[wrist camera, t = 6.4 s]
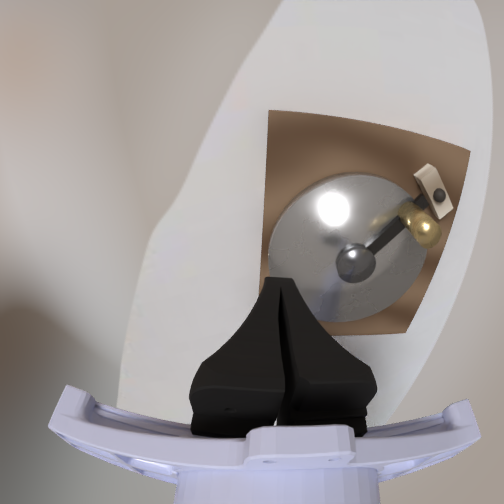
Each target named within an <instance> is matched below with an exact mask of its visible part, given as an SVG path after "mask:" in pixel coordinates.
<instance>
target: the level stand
mask: <svg viewBox="0 0 504 504" xmlns="http://www.w3.org/2000/svg"><path fill="white" fill-rule="evenodd" d="M469 157H470V151H469V150H467V149H464V148H462V147H459V146H457V145H454V144H451V143H448V142H444V141H441V140H438V139H435V138H432V137H428V136H425V135H421V134H418V133H414V132H410V131H406V130H402V129H398V128H394V127H389V126H385V125H380V124H375V123H370V122H365V121H360V120H354V119H348V118H342V117H335V116H328V115H320V114H312V113H302V112H291V111H278V110H269V116H268V137H267V158H266V178H265V197H264V215H263V233H262V250H261V267H260V284H259V295H260V293H261V290H262V288H263V284H264V278H265V277H267V276H268V277H270V273H269V266H268V250H269V241H270V236H271V233H272V230H273V227H274V225H275V222H276V220H277V218H278V216H279V215H280V213H281V212H282V210H283V209H284V207H285V206H286V205H287V204H288V203H289V202H290V201H291V199H292V198H294V197H295V196H296V195H297V194H298V193H299V192H300V191H302V190H303V189H305V188H306V187H308V186H309V185H311V184H312V183H314V182H316V181H318V180H320V179H322V178H325V177H328V176H331V175H334V174H339V173H344V172H367V173H372V174H376V175H380V176H382V177H385V178H387V179H389V180H391V181H392V182H394V183H396V184H397V185H398V186H400V187H401V188H402V189H403V190H405V191H406V192H407V193H408V194H409V195H410V196H411V197H412V198H413V199H415V198H416V197H417V196H418V195H419V194H420V193H421V194H423V195H424V197H425V198H426V200H427V201H428V203H429V204H430V205H429V206H428V207H427V208H426V209H425V210H423V211H424V212H425V213H427V214H428V215H429V216H430V217H431V218H432V219H433V220H434V221H435V222H436V223H437V224H438V225H439V226H440V227H441V230H442V235H441V238H440V240H439V242H438V243H437V244H436V245H435V246H434V247H432V248H429V249H427V254H426V258H425V261H424V264H423V267H422V269H421V271H420V273H419V275H418V276H417V278H416V280H415V281H414V283H413V284H412V285H411V287H410V288H409V289H408V290H407V291H406V292H405V293H404V294H403V295H402V296H401V297H400V298H399V299H398V300H397V301H396V302H394V303H393V304H391V305H390V306H388V307H387V308H385V309H383V310H382V311H380V312H378V313H376V314H373V315H371V316H368V317H365V318H362V319H358V320H354V321H347V322H326V321H320V320H318V322H319V323H320V324H321V325H322V327H323V328H324V329H325V330H326V331H327V332H328V333H329V335H330V336H339V335H378V334H397V333H406V331H407V329H408V327H409V325H410V323H411V322H412V320H413V318H414V316H415V314H416V312H417V310H418V308H419V306H420V304H421V302H422V300H423V297H424V295H425V293H426V291H427V289H428V286H429V284H430V282H431V280H432V277H433V275H434V273H435V270H436V268H437V265H438V263H439V260H440V258H441V255H442V252H443V250H444V247H445V244H446V242H447V239H448V236H449V233H450V230H451V227H452V224H453V221H454V217H455V214H456V211H457V207H458V204H459V200H460V196H461V193H462V189H463V185H464V180H465V176H466V172H467V167H468V162H469Z"/></svg>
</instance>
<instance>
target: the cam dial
mask: <svg viewBox="0 0 504 504" xmlns="http://www.w3.org/2000/svg"><path fill="white" fill-rule="evenodd" d="M429 205H430V204H429V203H428V201H427V200H426V198H425V197H424V195H423V194H421V193H420V194H419V195H418V196H417V197H416V198H415V199H413V198H412V197H411V196H410V195H409V194H408V193H407V192H406V191H405V190H403V189H402V188H401V187H400V186H398V185H397V184H396V183H394V182H392V181H391V180H389V179H387V178H385V177H382V176H380V175H376V174H372V173H367V172H344V173H339V174H334V175H331V176H328V177H325V178H322V179H320V180H318V181H316V182H314V183H312V184H311V185H309V186H308V187H306V188H305V189H303V190H302V191H300V192H299V193H298V194H297V195H296V196H295V197H294V198H292V199H291V201H290V202H289V203H288V204H287V205H286V206H285V207H284V209H283V210H282V212H281V213H280V215H279V216H278V218H277V220H276V222H275V225H274V227H273V230H272V233H271V236H270V241H269V250H268V266H269V273H270V277H283V278H292V279H293V280H294V282H295V284H296V286H297V288H298V290H299V292H300V294H301V296H302V297H303V299H304V301H305V303H306V304H307V306H308V307H309V309H310V310H311V312H312V313H313V315H314V316H315V318H316V319H317V320H320V321H326V322H347V321H354V320H358V319H362V318H365V317H368V316H371V315H373V314H376V313H378V312H380V311H382V310H383V309H385V308H387V307H388V306H390V305H391V304H393V303H394V302H396V301H397V300H398V299H399V298H400V297H401V296H402V295H403V294H404V293H405V292H406V291H407V290H408V289H409V288H410V287H411V285H412V284H413V283H414V281H415V280H416V278H417V276H418V275H419V273H420V271H421V269H422V267H423V264H424V261H425V258H426V254H427V249H429V248H432V247H434V246H435V245H436V244H437V243H438V242H439V240H440V238H441V235H442V230H441V227H440V226H439V225H438V224H437V223H436V222H435V221H434V220H433V219H432V218H431V217H430V216H429V215H428V214H427V213H425V212H424V211H423V210H425V209H426V208H427V207H428V206H429Z"/></svg>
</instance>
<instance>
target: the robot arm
mask: <svg viewBox="0 0 504 504" xmlns="http://www.w3.org/2000/svg"><path fill="white" fill-rule="evenodd" d="M376 392H377V385H376V381H375V378H374V375H373V373H372V370H371V368H370V367H369V366H368V365H366V364H365V363H363V362H362V361H360V360H359V359H357V358H356V357H354V356H353V355H352V354H350V353H349V352H348V351H347V350H345V349H344V348H343V347H342V346H341V345H340V344H339V343H338V342H337V341H335V340H334V339H333V338H332V337H331V336H330V335H329V333H328V332H327V331H326V330H325V329H324V328H323V327H322V325H321V324H320V323H319V322H318V320H317V319H316V318H315V316H314V315H313V313H312V312H311V310H310V309H309V307H308V306H307V304H306V303H305V301H304V299H303V297H302V296H301V294H300V292H299V290H298V288H297V286H296V284H295V282H294V280H293V279H292V278H283V277H268V276H267V277H265V278H264V284H263V288H262V290H261V293H260V295H259V297H258V299H257V301H256V303H255V305H254V307H253V309H252V310H251V312H250V314H249V315H248V317H247V318H246V320H245V321H244V322H243V324H242V325H241V326H240V328H239V329H238V330H237V331H236V332H235V334H234V335H233V336H232V337H231V338H230V339H229V340H228V341H227V342H226V343H225V344H224V345H223V346H222V347H221V348H220V349H219V350H218V351H216V352H215V353H214V354H213V355H211V356H210V357H209V358H207V359H206V360H205V361H203V362H202V364H201V365H200V367H199V369H198V371H197V373H196V375H195V377H194V379H193V382H192V385H191V389H190V393H189V400H190V403H191V406H192V410H193V417H192V422H191V425H188V424H182V423H176V422H171V421H166V420H161V419H157V418H152V417H148V416H144V415H140V414H136V413H132V412H128V411H125V410H121V409H118V408H114V407H111V406H108V405H105V404H102V403H99V402H96V401H95V399H94V398H93V396H92V395H91V394H90V393H88V392H86V391H84V390H81V389H78V388H76V387H73V386H71V385H66V387H65V389H64V391H63V393H62V395H61V397H60V399H59V402H58V404H57V406H56V408H55V410H54V413H53V415H52V417H51V419H50V422H49V424H48V427H49V428H50V429H51V430H52V431H53V432H55V433H56V434H57V435H58V436H60V437H61V438H62V439H63V440H65V441H66V442H67V443H68V444H70V445H71V446H73V447H74V448H76V449H78V450H81V451H83V452H85V453H87V454H90V455H92V456H94V457H97V458H99V459H102V460H104V461H106V462H109V463H112V464H114V465H116V466H119V467H122V468H124V469H127V470H130V471H133V472H136V473H139V474H142V475H145V476H148V477H151V478H154V479H158V480H162V481H165V482H169V483H173V484H177V487H176V493H175V499H174V504H380V496H379V486H378V483H379V482H383V481H386V480H390V479H393V478H397V477H400V476H403V475H406V474H409V473H412V472H415V471H418V470H421V469H423V468H426V467H429V466H431V465H434V464H437V463H439V462H442V461H444V460H447V459H449V458H452V457H454V456H455V455H457V454H458V453H460V452H461V451H463V450H464V449H466V448H467V447H469V446H470V445H472V444H473V443H475V442H476V441H477V440H479V439H480V438H481V434H480V431H479V428H478V425H477V422H476V419H475V416H474V413H473V410H472V408H471V405H470V402H469V400H468V399H465V400H462V401H458V402H455V403H452V404H451V405H449V406H448V407H446V408H445V409H444V410H443V412H442V413H438V414H434V415H430V416H427V417H422V418H418V419H414V420H409V421H405V422H399V423H395V424H389V425H383V426H376V427H369V428H367V425H366V420H365V417H366V416H367V409H366V406H367V405H368V404H369V402H370V401H371V400H372V399H373V397H374V396H375V394H376ZM276 419H277V425H276V426H273V425H274V422H275V421H276Z"/></svg>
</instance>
